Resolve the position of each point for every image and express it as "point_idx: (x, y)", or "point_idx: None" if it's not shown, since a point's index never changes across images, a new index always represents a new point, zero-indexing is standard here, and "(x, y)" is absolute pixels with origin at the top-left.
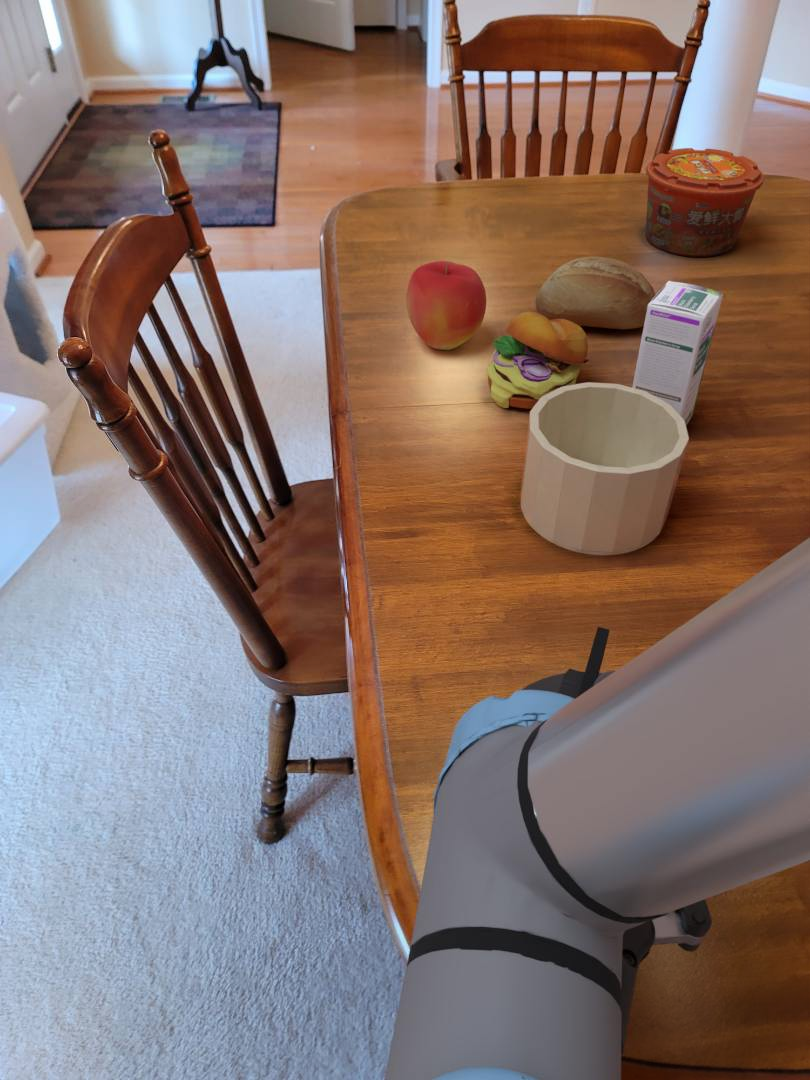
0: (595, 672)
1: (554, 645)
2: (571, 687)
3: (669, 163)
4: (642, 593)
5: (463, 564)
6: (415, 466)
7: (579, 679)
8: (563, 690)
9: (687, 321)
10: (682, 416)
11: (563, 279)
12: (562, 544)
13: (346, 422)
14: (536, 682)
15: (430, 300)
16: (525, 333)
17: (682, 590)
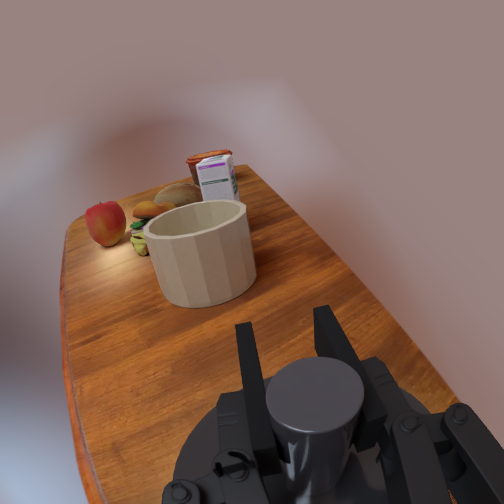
0: (258, 382)
1: (217, 375)
2: (234, 420)
3: (194, 157)
4: (264, 311)
5: (133, 344)
6: (98, 299)
7: (241, 403)
8: (224, 430)
9: (219, 165)
10: None
11: (159, 195)
12: (197, 305)
13: (62, 292)
14: (203, 418)
15: (93, 218)
16: (140, 210)
17: (288, 298)
